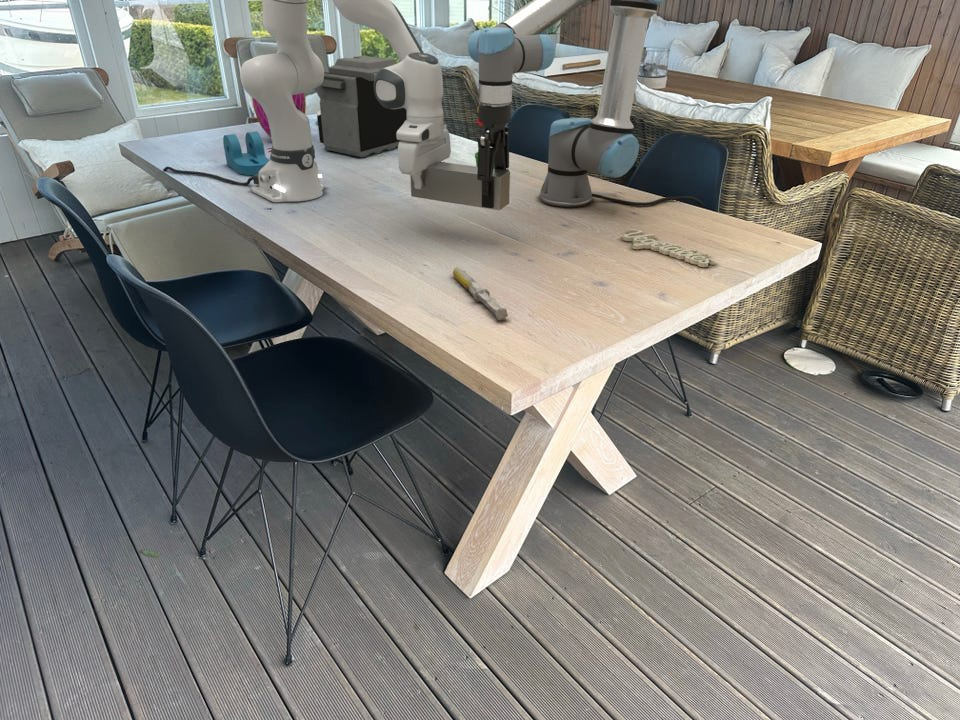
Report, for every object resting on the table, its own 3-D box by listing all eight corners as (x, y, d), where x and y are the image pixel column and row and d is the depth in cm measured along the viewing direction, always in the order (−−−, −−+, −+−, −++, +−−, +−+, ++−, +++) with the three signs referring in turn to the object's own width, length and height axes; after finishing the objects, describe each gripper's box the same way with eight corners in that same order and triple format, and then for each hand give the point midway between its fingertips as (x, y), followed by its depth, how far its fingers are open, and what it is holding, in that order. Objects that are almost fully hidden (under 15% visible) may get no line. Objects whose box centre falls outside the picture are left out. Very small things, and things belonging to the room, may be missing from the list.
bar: (509, 203, 168) (510, 171, 164) (499, 210, 164) (500, 177, 160) (422, 190, 177) (421, 159, 173) (411, 196, 173) (409, 164, 168)
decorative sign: (608, 236, 174) (633, 227, 180) (608, 240, 175) (632, 231, 180) (698, 267, 157) (722, 256, 163) (698, 271, 158) (721, 260, 163)
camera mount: (227, 164, 233) (221, 132, 227) (257, 160, 238) (252, 129, 233) (244, 176, 220) (239, 143, 215) (276, 172, 225) (271, 139, 220)
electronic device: (383, 133, 276) (378, 52, 261) (425, 141, 265) (422, 56, 250) (314, 150, 251) (304, 61, 235) (358, 160, 240) (350, 67, 224)
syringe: (449, 274, 155) (449, 263, 153) (465, 272, 156) (464, 260, 154) (490, 323, 135) (491, 310, 133) (508, 319, 136) (508, 307, 134)
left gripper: (434, 118, 175) (435, 172, 182) (392, 133, 159) (395, 192, 166) (456, 120, 172) (456, 175, 179) (415, 136, 156) (418, 196, 163)
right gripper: (496, 95, 164) (494, 191, 176) (461, 109, 149) (461, 212, 161) (525, 98, 161) (521, 195, 173) (492, 112, 146) (491, 217, 158)
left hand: (427, 184), depth 172 cm, fingers open, 7 cm apart
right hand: (493, 203), depth 167 cm, fingers closed on bar, 6 cm apart
